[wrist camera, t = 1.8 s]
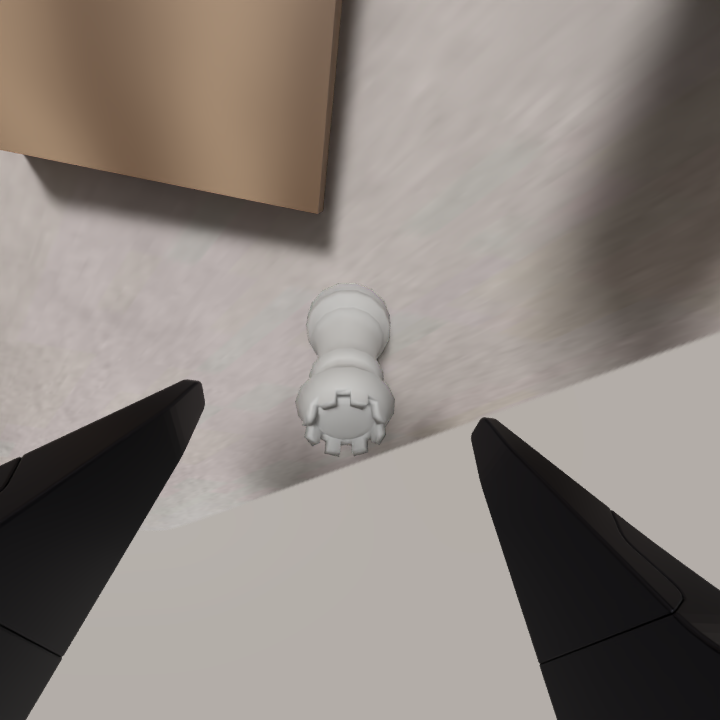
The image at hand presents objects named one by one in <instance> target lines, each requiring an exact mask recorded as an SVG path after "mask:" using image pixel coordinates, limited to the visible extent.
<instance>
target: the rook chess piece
mask: <svg viewBox="0 0 720 720" xmlns="http://www.w3.org/2000/svg"><path fill="white" fill-rule="evenodd" d="M307 318H308V320H307V323H306V327H307V334H308V340H309V343H310V345H311V346H312V348H313V350H314V351H315V353H316V354H317V355H318V360H317V361H315V362H314V363H313V366H312V369H311V371H310V374H309V377H310V379H308V380H307V381H306V382H305V383H304V384H303V385H302V386H301V387H300V390H299V393H298V396H297V399H296V401H295V402H296V407H297V412H298V416H299V417H300V419H301V420H302V421H303V424H302V425H304V426H307V427H306V432H305V438H306V439H307V440H308V442H309V443H310V444H311V445H312V446H314V445H316V444H318V443H320V439H322V440H324V441H325V442H326V444H325V454H330V455H334V456H338V457H339V454H340V446H341V445H352V452H353V455H354V456H357V455H360V454H364V453H367V452H368V440H369V439H371V441H372V442H374V443H376V444H380V443H381V441H382V439H383V438H384V436H385V435H386V433H385V426H386V425H387V423H388V422H389V420H390V419H391V417H392V415H393V414H394V402H395V399H394V396H393V394H392V392H391V390H390V388H389V386H388V384H386V383H385V382H384V381H383V371H382V369H381V367H380V365H379V363H378V361H377V358H378V357H379V355H380V354H382V352H383V350H384V348H385V346H386V344H387V342H388V340H389V338H390V321H389V320H390V315H389V312H388V310H387V307H386V305H385V302H384V301H383V300H382V299H381V298H380V297H379V296H378V295H377V294H376V293H375V292H374V291H373V290H372V289H370V288H367V287H365V286H362V285H359V284H357V283H340V284H336V285H334V286H332V287H330V288H327V289H325V290H323V291H322V292H321V293H320V294H319V295H318V296H317V297H316V299H315V300H314V301H313V302H312V304H311V307H310V310H309V314H308V317H307Z"/></svg>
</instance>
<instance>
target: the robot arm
mask: <svg viewBox="0 0 720 720" xmlns="http://www.w3.org/2000/svg"><path fill="white" fill-rule="evenodd" d="M204 406H205V399H204V393H203V388H202V384H201V382H199V381H196V380H188V379H187V380H182V381H180V382H178V383H176V384H174V385H172V386H170V387H167V388H165V389H163V390H161V391H159V392H157V393H155V394H152V395H150V396H148V397H146V398H144V399H142V400H140V401H138V402H135V403H133V404H131V405H129V406H127V407H125V408H123V409H120V410H118V411H116V412H114V413H112V414H110V415H108V416H106V417H103V418H101V419H99V420H97V421H95V422H93V423H91V424H88V425H86V426H84V427H82V428H80V429H78V430H76V431H73V432H71V433H69V434H67V435H65V436H63V437H61V438H59V439H56V440H54V441H52V442H50V443H48V444H46V445H44V446H41V447H39V448H37V449H35V450H33V451H31V452H29V453H26V454H25V455H23V457H18V458H16V459H14V460H11V461H9V462H7V463H5V464H3V465H1V466H0V720H26V719H27V717H28V715H29V714H30V712H31V710H32V709H33V707H34V705H35V703H36V702H37V700H38V698H39V697H40V695H41V693H42V692H43V690H44V688H45V687H46V685H47V683H48V682H49V680H50V678H51V677H52V675H53V673H54V671H55V670H56V668H57V666H58V665H59V663H60V661H61V659H62V656H63V655H64V654H65V652H66V651H67V649H68V647H69V646H70V644H71V642H72V641H73V639H74V637H75V636H76V634H77V632H78V631H79V629H80V627H81V626H82V624H83V622H84V621H85V619H86V617H87V615H88V614H89V612H90V610H91V609H92V607H93V605H94V604H95V602H96V600H97V599H98V597H99V595H100V594H101V592H102V590H103V588H104V587H105V585H106V583H107V582H108V580H109V578H110V576H111V575H112V573H113V572H114V570H115V568H116V567H117V565H118V563H119V561H120V560H121V558H122V557H123V555H124V553H125V551H126V550H127V548H128V547H129V544H130V543H131V541H132V540H133V538H134V536H135V535H136V533H137V531H138V530H139V528H140V526H141V525H142V523H143V521H144V520H145V518H146V516H147V515H148V513H149V511H150V510H151V508H152V506H153V504H154V503H155V501H156V499H157V498H158V496H159V494H160V493H161V491H162V489H163V488H164V486H165V484H166V483H167V481H168V479H169V478H170V476H171V474H172V473H173V471H174V469H175V467H176V466H177V464H178V462H179V461H180V459H181V457H182V455H183V453H184V451H185V449H186V447H187V445H188V443H189V440H190V438H191V436H192V434H193V432H194V429H195V427H196V425H197V423H198V421H199V418H200V416H201V414H202V412H203V409H204ZM471 441H472V446H473V450H474V455H475V460H476V464H477V469H478V474H479V478H480V482H481V485H482V489H483V492H484V495H485V498H486V502H487V504H488V508H489V511H490V514H491V517H492V520H493V523H494V526H495V529H496V532H497V535H498V538H499V542H500V545H501V547H502V551H503V554H504V557H505V560H506V563H507V566H508V569H509V572H510V575H511V578H512V581H513V585H514V588H515V591H516V594H517V597H518V600H519V603H520V606H521V609H522V612H523V615H524V618H525V621H526V625H527V628H528V631H529V634H530V637H531V640H532V643H533V646H534V649H535V652H536V655H537V659H538V662H539V663H540V668H541V671H542V675H543V678H544V681H545V684H546V687H547V690H548V693H549V696H550V699H551V702H552V705H553V708H554V711H555V714H556V718H557V720H720V590H719V589H717V588H716V587H714V586H713V585H712V584H710V583H709V582H708V581H706V580H705V579H703V578H702V577H701V576H699V575H698V574H696V573H695V572H694V571H692V570H691V569H690V568H688V567H687V566H685V565H684V564H683V563H681V562H680V561H679V560H677V559H676V558H674V557H673V556H672V555H670V554H669V553H668V552H666V551H665V550H663V549H662V548H661V547H659V546H658V545H657V544H655V543H654V542H653V541H651V540H650V539H649V538H647V537H646V536H645V535H643V534H642V533H641V532H640V531H638V530H637V529H635V528H634V527H633V526H632V525H630V524H629V523H628V522H626V521H625V520H624V519H623V518H621V517H620V516H619V515H617V514H616V513H615V512H614V511H612V510H610V509H609V507H607V506H606V505H605V504H604V503H602V502H601V501H599V500H598V499H597V498H596V497H595V496H593V495H592V494H591V493H589V492H588V491H587V490H586V489H584V488H583V487H582V486H580V485H579V484H578V483H577V482H575V481H574V480H573V479H572V478H570V477H569V476H568V475H566V474H565V473H564V472H563V471H561V470H560V469H559V468H557V467H556V466H555V465H554V464H552V463H551V462H550V461H549V460H547V459H546V458H545V457H543V456H542V455H541V454H540V453H538V452H537V451H536V450H535V449H533V448H532V447H531V446H529V445H528V444H527V443H526V442H524V441H523V440H522V439H521V438H519V437H518V436H517V435H515V434H514V433H513V432H512V431H510V430H509V429H508V428H506V427H505V426H504V425H503V424H501V423H500V422H499V421H498V420H496V419H493V418H486V417H484V418H482V419H480V421H479V422H478V424H477V426H476V427H475V429H474V431H473V433H472V435H471Z"/></svg>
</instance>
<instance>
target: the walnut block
mask: <svg viewBox="0 0 720 720" xmlns="http://www.w3.org/2000/svg"><path fill="white" fill-rule="evenodd" d="M341 10H342V0H0V150H4V151H9V152H14V153H19V154H24V155H29V156H34V157H38V158H43V159H48V160H53V161H58V162H63V163H68V164H73V165H78V166H83V167H88V168H93V169H98V170H103V171H108V172H113V173H118V174H122V175H127V176H132V177H137V178H142V179H147V180H152V181H157V182H162V183H167V184H172V185H177V186H182V187H187V188H192V189H197V190H201V191H206V192H211V193H216V194H221V195H226V196H231V197H236V198H241V199H246V200H251V201H256V202H261V203H266V204H271V205H276V206H281V207H285V208H290V209H295V210H300V211H305V212H310V213H315V214H319V213H320V212H322V211H323V206H324V195H325V184H326V173H327V162H328V151H329V140H330V129H331V119H332V108H333V97H334V86H335V75H336V64H337V53H338V42H339V31H340V21H341Z"/></svg>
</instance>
